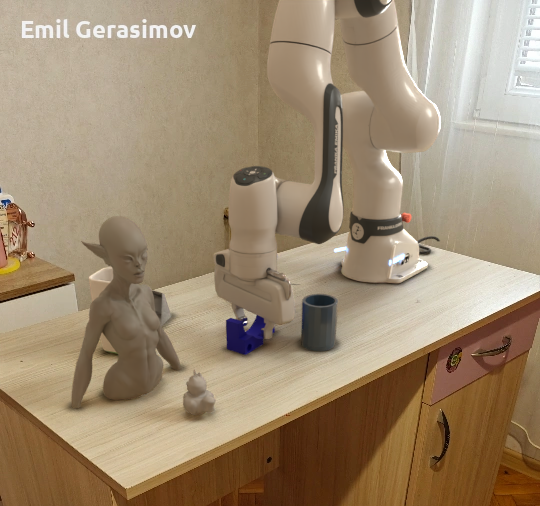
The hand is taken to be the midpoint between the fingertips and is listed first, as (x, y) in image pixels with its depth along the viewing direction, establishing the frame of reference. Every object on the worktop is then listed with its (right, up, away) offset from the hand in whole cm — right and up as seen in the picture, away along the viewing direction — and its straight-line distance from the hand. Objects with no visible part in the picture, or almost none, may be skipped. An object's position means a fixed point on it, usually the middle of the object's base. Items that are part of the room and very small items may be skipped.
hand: (254, 331), depth 142 cm
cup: (-26, -4, -2) cm, 26 cm away
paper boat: (-22, +5, +11) cm, 26 cm away
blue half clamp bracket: (0, -2, +1) cm, 2 cm away
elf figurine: (-20, -14, -16) cm, 29 cm away
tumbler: (+13, -2, 0) cm, 13 cm away
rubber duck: (-8, -18, -22) cm, 30 cm away
